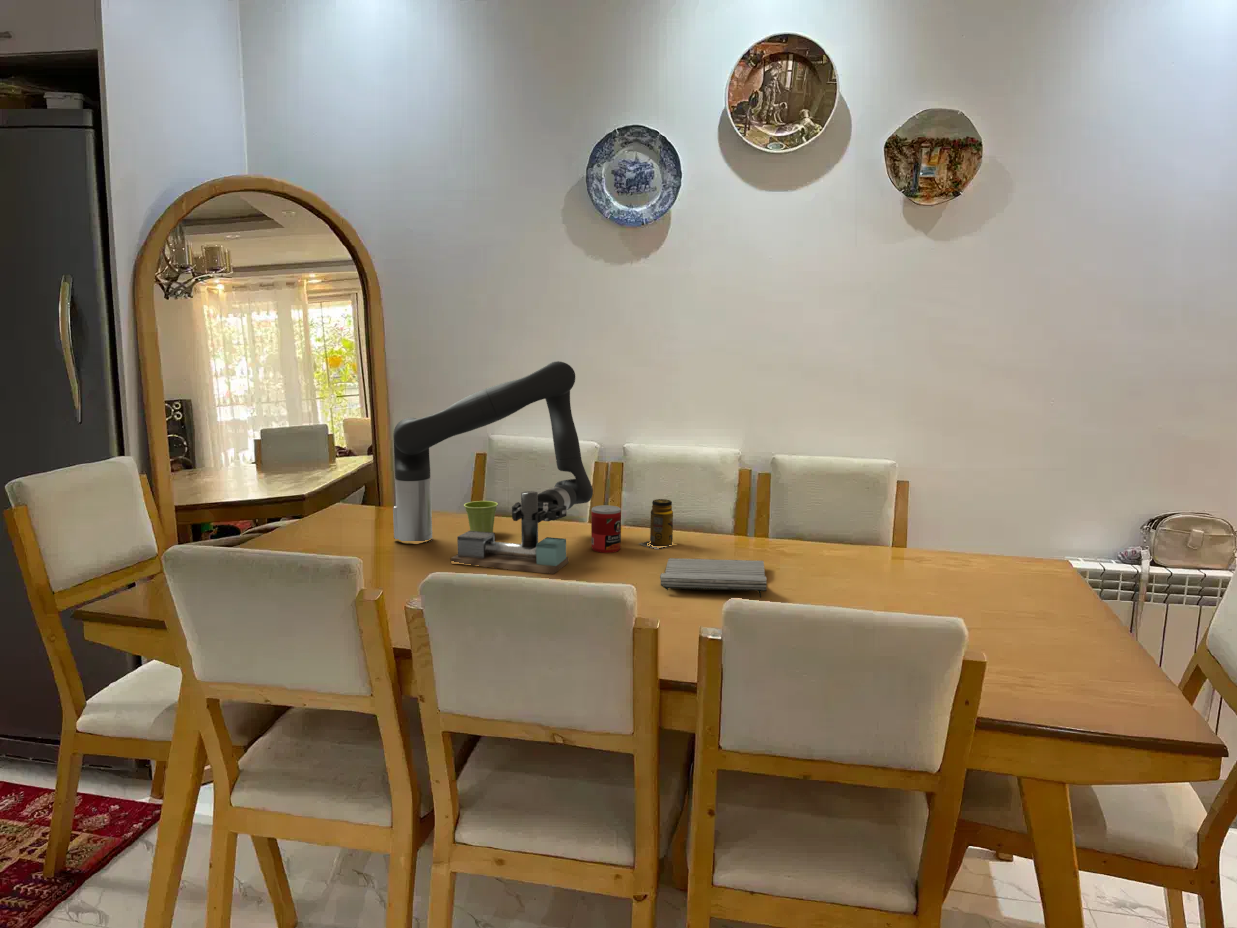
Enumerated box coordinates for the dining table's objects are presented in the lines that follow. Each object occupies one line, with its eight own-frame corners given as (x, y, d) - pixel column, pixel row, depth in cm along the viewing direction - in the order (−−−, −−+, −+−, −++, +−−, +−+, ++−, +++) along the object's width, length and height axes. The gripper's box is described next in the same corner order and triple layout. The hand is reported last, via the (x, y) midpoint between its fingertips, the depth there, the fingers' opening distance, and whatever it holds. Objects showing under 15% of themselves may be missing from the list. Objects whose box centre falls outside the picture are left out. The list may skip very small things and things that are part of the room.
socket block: (536, 564, 196) (536, 543, 195) (547, 556, 203) (546, 537, 202) (556, 566, 195) (555, 545, 194) (566, 558, 201) (566, 538, 200)
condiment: (679, 544, 221) (680, 500, 219) (657, 550, 215) (658, 505, 213) (659, 539, 226) (660, 496, 224) (638, 544, 221) (638, 501, 219)
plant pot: (458, 537, 227) (457, 506, 226) (474, 529, 236) (473, 499, 235) (489, 539, 225) (488, 508, 223) (503, 531, 233) (503, 501, 232)
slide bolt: (478, 555, 202) (476, 491, 199) (485, 551, 206) (483, 488, 203) (553, 562, 196) (553, 496, 194) (559, 558, 200) (559, 493, 198)
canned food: (609, 554, 210) (609, 513, 209) (585, 549, 215) (585, 508, 213) (626, 548, 216) (627, 507, 215) (603, 543, 221) (603, 503, 219)
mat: (763, 570, 200) (764, 551, 199) (766, 602, 177) (767, 581, 176) (668, 565, 203) (668, 547, 202) (659, 596, 180) (659, 575, 179)
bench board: (450, 563, 201) (450, 557, 201) (469, 553, 211) (469, 547, 210) (553, 574, 194) (553, 567, 193) (568, 562, 203) (568, 556, 203)
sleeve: (457, 556, 202) (457, 536, 202) (469, 549, 208) (469, 530, 208) (483, 558, 200) (483, 539, 200) (494, 552, 206) (494, 532, 206)
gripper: (525, 487, 213) (497, 500, 197) (577, 491, 209) (553, 504, 193) (526, 515, 215) (498, 530, 199) (577, 519, 211) (553, 535, 195)
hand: (525, 517), depth 196 cm, fingers open, 5 cm apart
